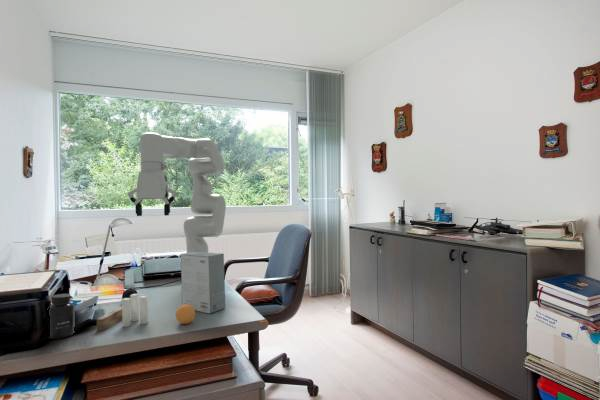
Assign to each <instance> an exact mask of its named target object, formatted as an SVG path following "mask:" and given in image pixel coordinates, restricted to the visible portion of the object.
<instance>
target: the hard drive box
mask: <svg viewBox="0 0 600 400" xmlns="http://www.w3.org/2000/svg"><path fill="white" fill-rule="evenodd" d="M224 258H225V255H224V253H221V252H210V251H208V252H190V253H187V252H186V253H180V277H181V279H180V281H181V306H182V305H185V304H188V305H191V306H192V307H193V308H194V309H195V312H196V311H197V312H201V313H204V314H205V313H206V314H213V313H215V312H219V311H221V310H224V309H225V308H226V289H225V288H226V287H225V286H226V283H225V259H224Z"/></svg>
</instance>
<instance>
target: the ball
mask: <svg viewBox="0 0 600 400" xmlns="http://www.w3.org/2000/svg"><path fill="white" fill-rule="evenodd" d="M175 317H176V320H177V321H178V323H180V324H183V325H187V324H190V323H191V322H193V321H194V319H195V317H196V310H195V309H194V308H193V307H192V306H191V305H188V304H185V305H182V304H181V305H180V306H179V307H178V308H177V309H176V312H175Z"/></svg>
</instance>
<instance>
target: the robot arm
mask: <svg viewBox="0 0 600 400" xmlns="http://www.w3.org/2000/svg"><path fill="white" fill-rule="evenodd" d="M139 138H140V140H139V147H138V148H139V151H140V171H139V172H138V175H137V182H136V183H137V184H136V188H134V189H132V190H130V191H129V192H127V195H128V198H129V200H130V201H131V202H132V203H133V205H134V206H135V214H136V216H137V217H141V216H143V205H142V202H143V201H144V200H162V201H163V202H164V205H163V213H164V215H163V216H169V215H170V214H171V204H172V203H173V201H175V199H176V197H177V195H178V191H176V190H174V189H172V188H169V181H168V176H167V172H166V171H164V170H165V169H167V168H168V165H167V164H165V163H164V158H169V159H189V160H188V162H187V168H188V172H189V174H190V176H191V178H192V182H193V190H192V197H191V202H190V210H191V212H192V213H193V214H194V215H195V216H194V215H193V216H190V217H187V218H186V219H185V220H184V222H183V231H184V232H183V233H184V236H185V243H186V244H185V245H186V253H190V252H209V246H208V242H207V241H206V240H205V238H217V237H219V236H221V235H222V234H223V231H224V225H225V223H224V222H225V216H226V208H227V204H226V200H225V197H224V196H223V195H222V194H219V193H216V194H215V193H213V184H212V183H211V181H210V180H209V179H208V177H207V176H209V175H210V176H211V175H221V174H222V173H223V172H224V171H225V162H224V158H223V157H222V155H221V152H220V150H219V149H218V146H217V145H216V143H215V142H214V140H212V139H211V138H186V137H173V136H170V135H169V136H168V135H161V134H159V133H156V132H143V133H142V134H141V135H140V137H139ZM135 194H136V197H137V198H136V197H135ZM169 194H171V196H170V195H169ZM169 196H170V197H169Z"/></svg>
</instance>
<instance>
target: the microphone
mask: <svg viewBox="0 0 600 400" xmlns="http://www.w3.org/2000/svg"><path fill="white" fill-rule="evenodd" d="M132 294H138V295H139V293H138V291H137V290H136V289H134V288H127V289H125V290H124V291H123V292H122V294H121V298H122V299H124V298H130V295H132Z"/></svg>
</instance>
